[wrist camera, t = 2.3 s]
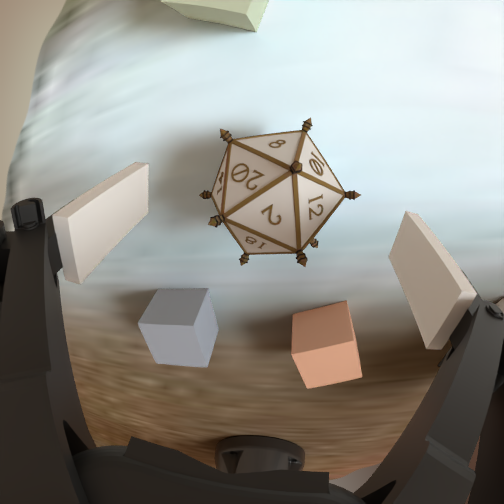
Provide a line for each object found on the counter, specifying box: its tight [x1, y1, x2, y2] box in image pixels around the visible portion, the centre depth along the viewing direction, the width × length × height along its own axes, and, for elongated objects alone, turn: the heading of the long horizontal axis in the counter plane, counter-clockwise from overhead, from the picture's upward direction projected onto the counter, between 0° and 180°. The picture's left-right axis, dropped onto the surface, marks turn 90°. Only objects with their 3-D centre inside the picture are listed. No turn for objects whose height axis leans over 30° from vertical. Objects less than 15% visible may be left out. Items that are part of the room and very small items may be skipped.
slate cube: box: [138, 288, 219, 367], centre depth 26 cm, size 5×5×5 cm
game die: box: [199, 118, 360, 267], centre depth 18 cm, size 9×8×10 cm
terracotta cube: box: [291, 301, 362, 389], centre depth 25 cm, size 5×5×5 cm
